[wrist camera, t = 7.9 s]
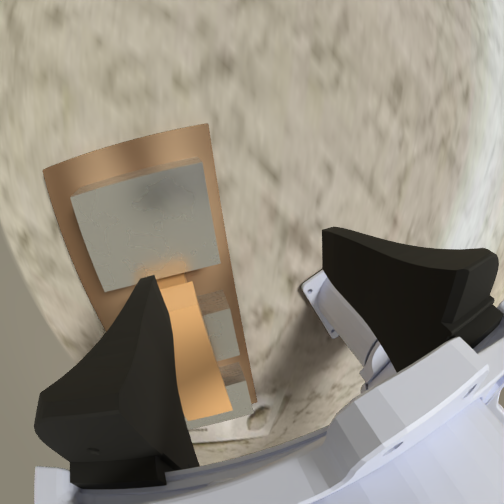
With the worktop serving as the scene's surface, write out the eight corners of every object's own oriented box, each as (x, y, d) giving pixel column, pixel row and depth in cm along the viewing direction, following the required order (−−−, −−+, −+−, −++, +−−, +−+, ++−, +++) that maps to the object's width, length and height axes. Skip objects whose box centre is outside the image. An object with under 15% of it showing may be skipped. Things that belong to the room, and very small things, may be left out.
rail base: (206, 123, 17) (208, 123, 17) (255, 397, 32) (257, 402, 31) (46, 168, 15) (42, 170, 14) (165, 418, 30) (166, 424, 29)
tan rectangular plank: (187, 259, 21) (197, 304, 16) (218, 365, 26) (233, 410, 22) (135, 272, 20) (131, 320, 15) (179, 374, 26) (188, 421, 21)
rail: (197, 156, 18) (202, 162, 15) (247, 396, 30) (253, 413, 28) (80, 187, 16) (70, 197, 14) (180, 412, 29) (184, 430, 26)
